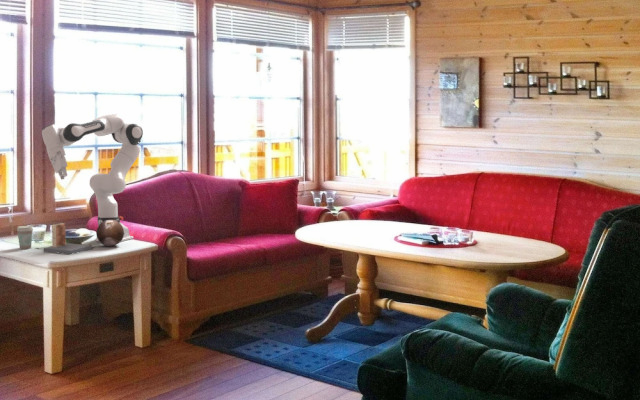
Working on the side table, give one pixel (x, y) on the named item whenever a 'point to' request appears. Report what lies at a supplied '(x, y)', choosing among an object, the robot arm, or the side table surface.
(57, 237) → the plaque
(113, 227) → the wooden sphere
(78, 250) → the board
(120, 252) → the side table surface
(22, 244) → the coffee cup
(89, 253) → the side table surface
